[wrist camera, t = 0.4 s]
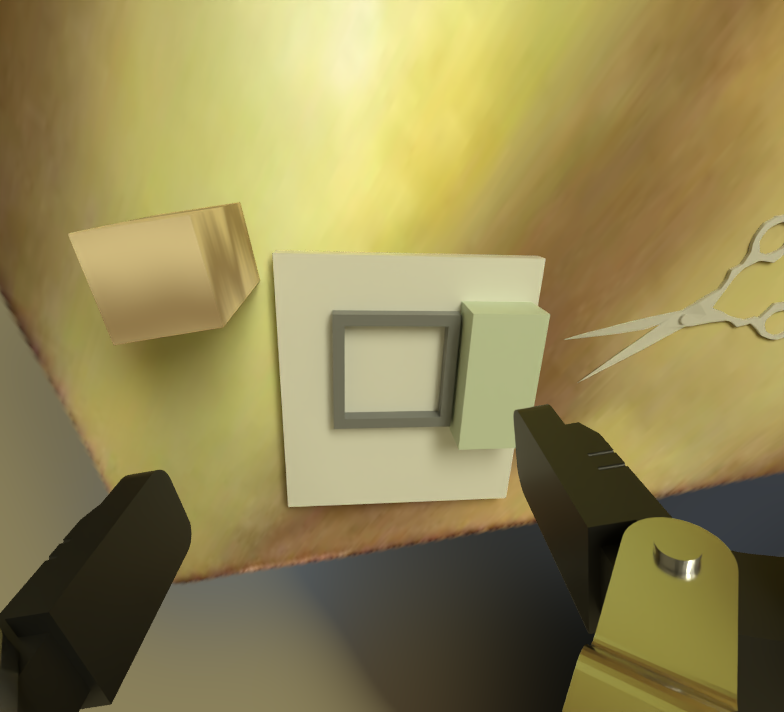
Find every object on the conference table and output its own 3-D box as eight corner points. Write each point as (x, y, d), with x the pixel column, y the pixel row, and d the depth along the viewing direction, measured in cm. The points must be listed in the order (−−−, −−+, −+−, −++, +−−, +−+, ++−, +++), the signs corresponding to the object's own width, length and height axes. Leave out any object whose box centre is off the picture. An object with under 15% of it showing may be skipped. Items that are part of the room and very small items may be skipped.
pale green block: (461, 301, 30) (473, 313, 28) (531, 301, 31) (550, 314, 28) (449, 427, 34) (458, 449, 31) (511, 426, 35) (526, 447, 32)
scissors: (821, 322, 35) (585, 418, 36) (812, 319, 36) (581, 414, 37) (820, 191, 31) (555, 302, 32) (810, 190, 32) (550, 300, 33)
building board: (274, 250, 29) (270, 255, 27) (538, 255, 31) (551, 261, 29) (289, 496, 36) (286, 515, 34) (501, 488, 38) (509, 506, 36)
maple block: (159, 214, 27) (67, 233, 18) (240, 202, 28) (189, 215, 18) (184, 292, 29) (113, 345, 20) (260, 280, 30) (223, 327, 20)
